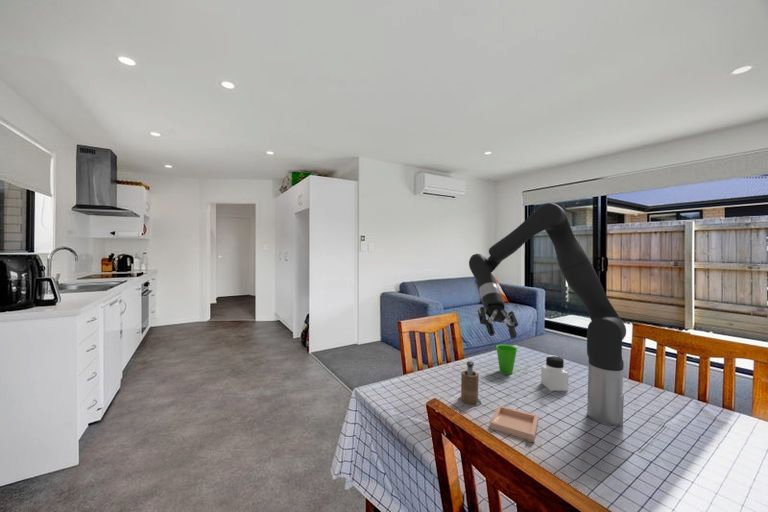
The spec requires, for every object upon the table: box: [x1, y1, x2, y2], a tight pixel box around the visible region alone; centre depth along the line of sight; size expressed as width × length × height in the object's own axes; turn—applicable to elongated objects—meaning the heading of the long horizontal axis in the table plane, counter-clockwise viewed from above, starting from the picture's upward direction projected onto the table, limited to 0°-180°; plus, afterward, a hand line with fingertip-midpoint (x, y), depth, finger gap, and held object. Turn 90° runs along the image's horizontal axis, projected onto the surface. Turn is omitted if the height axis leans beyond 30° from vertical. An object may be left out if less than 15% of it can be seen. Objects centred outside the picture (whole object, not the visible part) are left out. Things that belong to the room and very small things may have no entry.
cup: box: [495, 344, 518, 375], centre depth 137 cm, size 9×9×11 cm
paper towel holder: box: [457, 360, 482, 408], centre depth 109 cm, size 8×8×14 cm
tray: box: [489, 404, 539, 443], centre depth 95 cm, size 12×12×2 cm
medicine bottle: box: [540, 355, 569, 392], centre depth 123 cm, size 7×7×12 cm
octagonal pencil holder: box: [460, 369, 479, 405], centre depth 109 cm, size 5×7×10 cm
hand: (503, 336), depth 107 cm, fingers open, 8 cm apart
